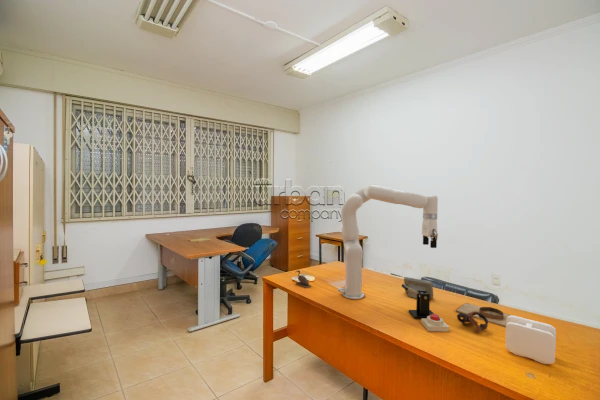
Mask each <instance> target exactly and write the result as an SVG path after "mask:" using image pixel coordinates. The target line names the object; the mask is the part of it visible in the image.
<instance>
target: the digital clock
mask: <svg viewBox="0 0 600 400" xmlns="http://www.w3.org/2000/svg"><path fill="white" fill-rule="evenodd" d="M403 284H404V285H406V286H407V287H408V288H411V289H413V290H415V291H417V290H425V291H426V293H429V294H430V299H434V287H433V282H432V281H430V280H425V279H420V278H414V277H409V276H404V277H403ZM404 292H405V293H406V294H408V295H407V296H408V298H413V299H417V294H416V293H414V292H412V291H409V290H405V289H404Z"/></svg>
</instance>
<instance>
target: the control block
mask: <svg viewBox="0 0 600 400" xmlns="http://www.w3.org/2000/svg"><path fill="white" fill-rule="evenodd" d="M420 321H421V324H422V326H423V327H424V328H425V329H426V330H427V331H428V332H445V333H447V332H450V326H449V325H448V324H447V323H446V322H445V321H444V319H443V318H442V317H440V316H439V321H435V320H432V319H431V315H430V316H427V318H421V319H420Z"/></svg>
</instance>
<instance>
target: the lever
mask: <svg viewBox="0 0 600 400" xmlns="http://www.w3.org/2000/svg"><path fill="white" fill-rule="evenodd" d="M401 287H402V288H403V289H404V291H405V290H409V291H412V292H414V293H416V294H418V295H419V297H420V293H423V292H420V293H419V292H417V291H415V290H413V289H411V288H408V287H407V286H406V285H404V283H402V284H401Z"/></svg>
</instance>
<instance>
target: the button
mask: <svg viewBox="0 0 600 400" xmlns="http://www.w3.org/2000/svg"><path fill="white" fill-rule="evenodd" d="M439 317H440V315H439V314H437V313H434V314H431V319H432V320H435V321H439Z"/></svg>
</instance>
